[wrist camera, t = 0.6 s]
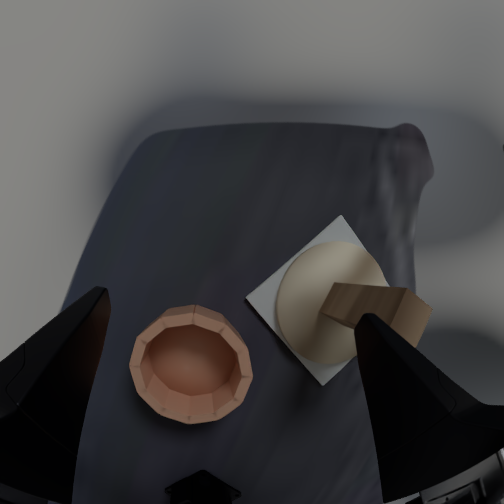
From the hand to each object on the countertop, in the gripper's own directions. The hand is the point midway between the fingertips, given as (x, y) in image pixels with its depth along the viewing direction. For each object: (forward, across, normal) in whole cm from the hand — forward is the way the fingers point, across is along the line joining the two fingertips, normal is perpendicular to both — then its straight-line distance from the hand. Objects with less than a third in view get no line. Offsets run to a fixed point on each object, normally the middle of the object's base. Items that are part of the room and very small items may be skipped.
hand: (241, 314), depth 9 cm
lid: (+11, -11, +9) cm, 18 cm away
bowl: (+8, +2, +14) cm, 16 cm away
